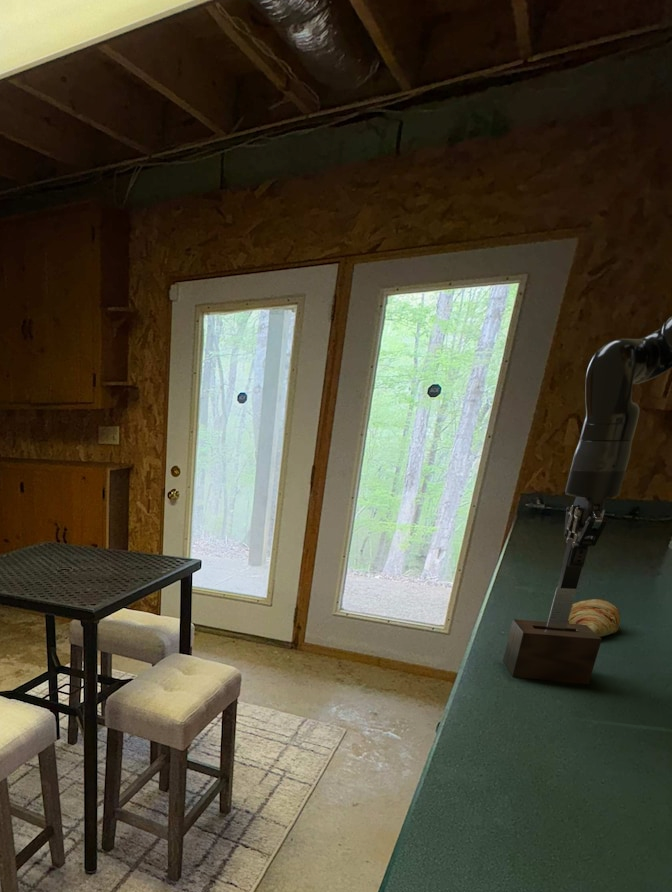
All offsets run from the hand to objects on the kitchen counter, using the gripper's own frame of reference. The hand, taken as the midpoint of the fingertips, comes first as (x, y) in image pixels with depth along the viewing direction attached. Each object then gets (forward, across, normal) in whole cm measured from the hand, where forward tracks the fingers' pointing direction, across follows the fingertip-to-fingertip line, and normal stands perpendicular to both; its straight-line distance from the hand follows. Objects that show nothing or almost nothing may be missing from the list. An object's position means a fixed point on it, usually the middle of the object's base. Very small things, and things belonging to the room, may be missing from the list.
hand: (572, 565), depth 114 cm
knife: (+15, 0, 0) cm, 15 cm away
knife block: (+21, 0, 0) cm, 21 cm away
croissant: (+21, +32, -16) cm, 42 cm away
